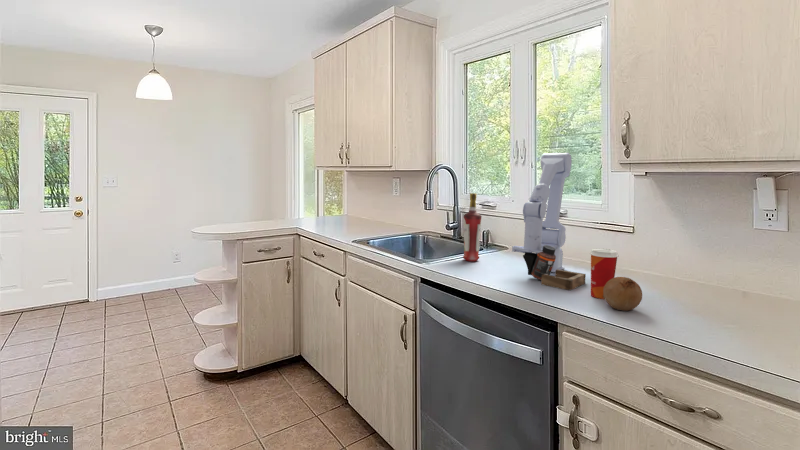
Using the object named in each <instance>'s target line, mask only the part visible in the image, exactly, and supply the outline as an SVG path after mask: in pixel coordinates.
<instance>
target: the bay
mask: <svg viewBox="0 0 800 450" xmlns="http://www.w3.org/2000/svg"><path fill="white" fill-rule="evenodd" d="M554 273H555V274H554V275H551V274H550V275H545V274H543V275H542V280H540V281H541V282H540V283H541V286H546V287H547V286H548V287H552V288H557V289H562V290H567V291H572V290H574V289H576V288H579V287H581V286H582V285H585V284H586V273H581V272H575V271H571V270H570V271H569V270H564V269H562V270H559V269H557V270H556V272H554Z"/></svg>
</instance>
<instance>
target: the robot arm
mask: <svg viewBox="0 0 800 450" xmlns="http://www.w3.org/2000/svg"><path fill="white" fill-rule="evenodd" d="M572 162H573V161H572V156H571V154H570V152H557V153H556V152H554V153H553V152H552V153H551V152H550V153H548V152H547V153H546V152H544V153H543V154H541V157H540V168H541V171H542V172H541V174H540V178H539V181H538V183H537V184H536V185H534V187H533V189H532V193H531V195H530V197H529V199H528V201H527V202H525V203H524V204H523V207H522V216H523V222H524V235H523V236H524V239H523V246H520V245H513V246H512V247H511V252H512V253H513V252H515V253H521V254H523V255H522V258H523V259H524V262H525V263H526V267H527V275H530V276H532V274H531V272H532V269H533V266H534V263H535V260H536V257H537V255H538V253H539V252H543V251H541V250H543V246H544V245H548V246H551V247H554V248H555V249H556V250H555V253H554V254H555V256H556V259H555V262H554V265H553V267H552V270H551V273H556V270H557V269H559V270H564V269H565V266H563V260H564V259H563V258H564V253H563V249H562V247H563V246H564V245H565V243H566V239H567V237H566V235H567V234H566V227H565V226H564V224H562V223H561V222H560V215H561V208H562V200H563V193H564V187H565V182H566V178H568V177H570V175H571V171H572ZM544 218H545V219H544ZM543 219H544V220H543Z"/></svg>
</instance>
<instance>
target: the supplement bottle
mask: <svg viewBox="0 0 800 450" xmlns="http://www.w3.org/2000/svg"><path fill="white" fill-rule="evenodd" d="M555 250H556V249H555V248H554V247H551V246H548V245H544V246H543V250H541V251H543V252H539V253H538V255H537V257H536V260H535V263H534V266H533V269H532V272H531V274H532V275H531V276H532V277H533V278H535V279H537V280H540V281H541V280H542V275H543V274H545V275H551V273H552V272H551V270H552V267H553V265H554V262H555V259H556V256H555V254H554V253H555Z"/></svg>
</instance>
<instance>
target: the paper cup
mask: <svg viewBox="0 0 800 450" xmlns="http://www.w3.org/2000/svg"><path fill="white" fill-rule="evenodd" d="M589 255H590V296H591V297H592V298H594V299H595V298H596V299H600V300H604V298H603V295H604V294H603V289H604V286H605V284H606V283H607V282H608V281H609V280H610V279H612V278H615V277H616V270H617V269H616V268H617V261H618V257H619V254H618V251H617V250H615V249H607V248H592V249H591V251H590V253H589Z"/></svg>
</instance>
